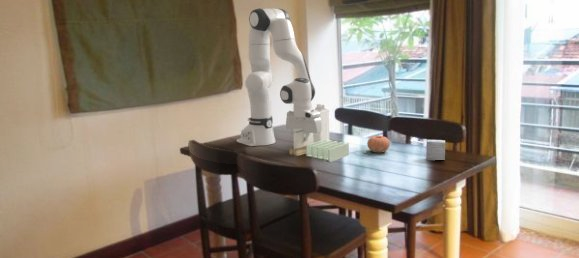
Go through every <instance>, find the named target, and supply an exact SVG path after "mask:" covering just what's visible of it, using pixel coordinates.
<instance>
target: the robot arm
mask: <svg viewBox="0 0 579 258" xmlns="http://www.w3.org/2000/svg"><path fill="white" fill-rule="evenodd" d="M248 22H249V25H250V26H249V27H250V28H249V32H248V60H249V63H250V69H251V72H250V73H249V74H248V75H247V76H246V79H245V81H244V83H245V84H244V85H245V88H246V90H247V95H248V99H249V105H250V117H249V118H247V120H248V124H247V125H245V127H243V128H242V130H241V131H240V138H237V139H236V142H237V143H239V144H242V145H246V146H249V147H254V146H268V145H273V144H275V143H276V137H275V133H274V132H275V131H274V126H273V116H272V101H271V99H270V95H269V88H270V87H272V84H273V81H274V80H273V79H274V77H273V71H272V63H271V44H270V43H271V40H270V37H272V47H273V51H274V53H275V55H276V56H277V57H278V58H279V59H281V60H283V61H286V62H289V63H291V64H292V65H293V66H294V67H295V69H296V73H297V76H298V77H297V78H294V79H293V80H292V82H290V83H288V84H285V85H283V86H281V88H280V92H279V96H280V97H279V98H280V99H281V101H282V102H283V103H284V104H287V105H291V104H293V110H288V111H287V113H286V118H285V128H286V129H287V130H289V131H290V130H291V131H293V129H297V128H302V131H303V132H305V134H306V136H305V137H304V141H308V137H309V135H310V133H315V134H317V133H320V132H321V130H322V124H321V119H320V117H319V116H320V115H321V113H320V112H319V111H317V110H315V108H314V107H313V105H312V101H313V99H314V98H315V95H316V88H315V86H314V84H313V82H312V79H311V75H310V71H309V69H308V65H307V62H306V59H305V56H304V53H303V52H302V51H301V50H300V49H299V47H298V45H297V42H296V37H295V33H294V28H293V25H292V22H291V21H290V15H289V13H288V12H287V10H285V9H283V8H273V7H267V8H256V9H253V10H251V11H250V14H249V17H248Z"/></svg>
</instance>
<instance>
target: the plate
mask: <svg viewBox="0 0 579 258" xmlns="http://www.w3.org/2000/svg"><path fill="white" fill-rule="evenodd" d="M292 135H293V138H292V139H293V147H294V154H295V149H296V148H300V147H303V146H306V145H309V144H312V143H313V133H310V135H309V137H308V141H304V137H305V136H306V134H305V132H303V131H302V128H297V129H293V130H292Z"/></svg>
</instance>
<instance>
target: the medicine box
mask: <svg viewBox="0 0 579 258" xmlns="http://www.w3.org/2000/svg"><path fill="white" fill-rule="evenodd" d="M425 156H426V159H425V160H426V161H435V160H446V159H445V157H446V140H442V139H427V140H426V155H425Z"/></svg>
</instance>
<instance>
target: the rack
mask: <svg viewBox="0 0 579 258" xmlns="http://www.w3.org/2000/svg"><path fill="white" fill-rule="evenodd" d="M349 144H350V143H349V142H346V143H344V142H343V141H340V142H338V140H335V141H333V140H332V139H329V141H327V139H325V140H321V141H318V142H315V143H312V144H309V145H306V153H305V156H306V157H312V158H316V159H320V160H327V161H326V162H327V163H332V162H335V161H337V160H340V159H342V158H345V157H347V156H349V155H350V154H349V153H350V151H349V150H350V149H349V148H350V145H349Z"/></svg>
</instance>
